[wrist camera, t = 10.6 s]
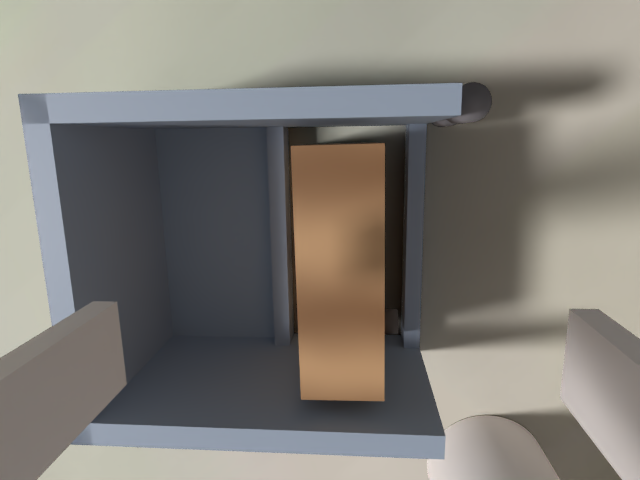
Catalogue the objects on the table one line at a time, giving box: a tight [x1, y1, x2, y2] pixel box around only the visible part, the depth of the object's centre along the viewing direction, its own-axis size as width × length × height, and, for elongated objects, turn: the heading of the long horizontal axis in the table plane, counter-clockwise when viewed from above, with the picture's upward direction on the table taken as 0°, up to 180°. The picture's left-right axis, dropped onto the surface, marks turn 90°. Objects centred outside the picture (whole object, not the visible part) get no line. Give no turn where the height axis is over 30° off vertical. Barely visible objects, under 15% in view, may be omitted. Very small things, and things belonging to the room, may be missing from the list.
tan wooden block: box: [291, 142, 398, 401], centre depth 26 cm, size 12×5×10 cm, turn 2°
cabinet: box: [18, 82, 492, 459], centre depth 25 cm, size 17×20×11 cm
